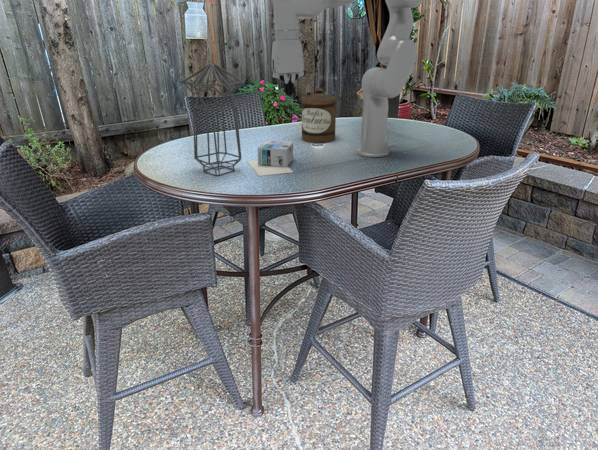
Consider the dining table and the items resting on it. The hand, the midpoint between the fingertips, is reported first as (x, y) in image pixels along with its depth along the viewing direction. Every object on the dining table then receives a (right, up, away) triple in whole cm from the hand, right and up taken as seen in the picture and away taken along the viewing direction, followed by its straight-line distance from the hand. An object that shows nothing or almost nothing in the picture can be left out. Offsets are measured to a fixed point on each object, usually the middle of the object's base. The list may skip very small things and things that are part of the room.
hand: (289, 95), depth 146 cm
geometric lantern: (-24, -25, +3) cm, 35 cm away
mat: (-7, -24, +6) cm, 25 cm away
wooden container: (+12, -6, +45) cm, 47 cm away
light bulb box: (0, -19, +9) cm, 21 cm away
